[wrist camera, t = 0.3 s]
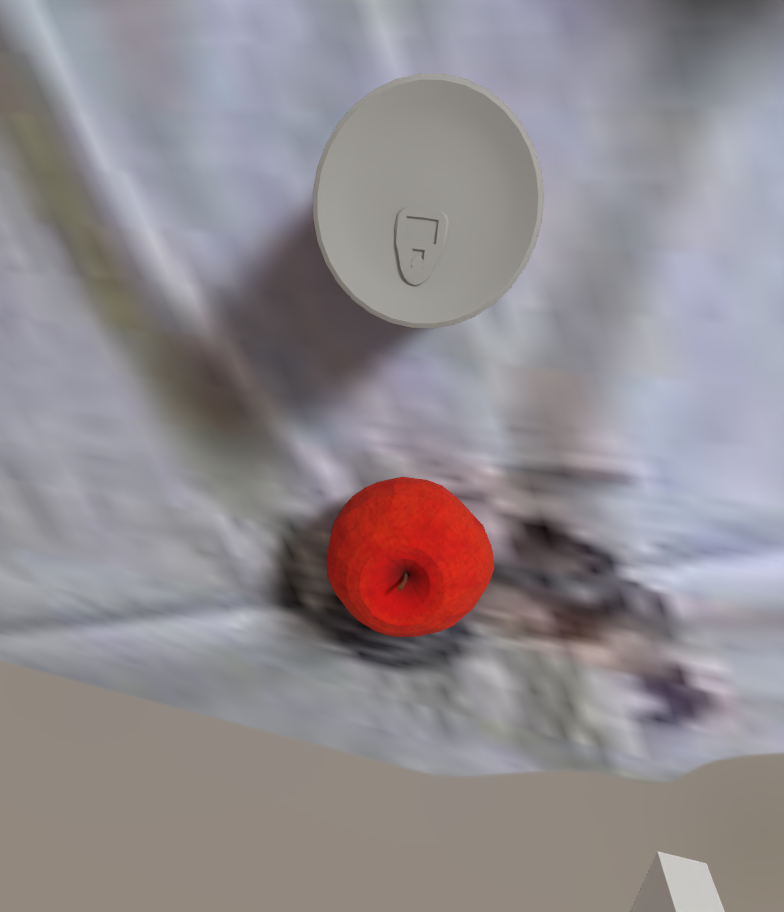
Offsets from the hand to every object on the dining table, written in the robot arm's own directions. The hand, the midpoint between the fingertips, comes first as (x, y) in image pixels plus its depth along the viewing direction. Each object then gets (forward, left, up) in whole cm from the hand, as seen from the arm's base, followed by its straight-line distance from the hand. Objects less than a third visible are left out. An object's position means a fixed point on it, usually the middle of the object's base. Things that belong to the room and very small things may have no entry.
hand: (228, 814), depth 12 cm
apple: (+7, +3, -28) cm, 28 cm away
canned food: (-9, +1, -28) cm, 29 cm away
